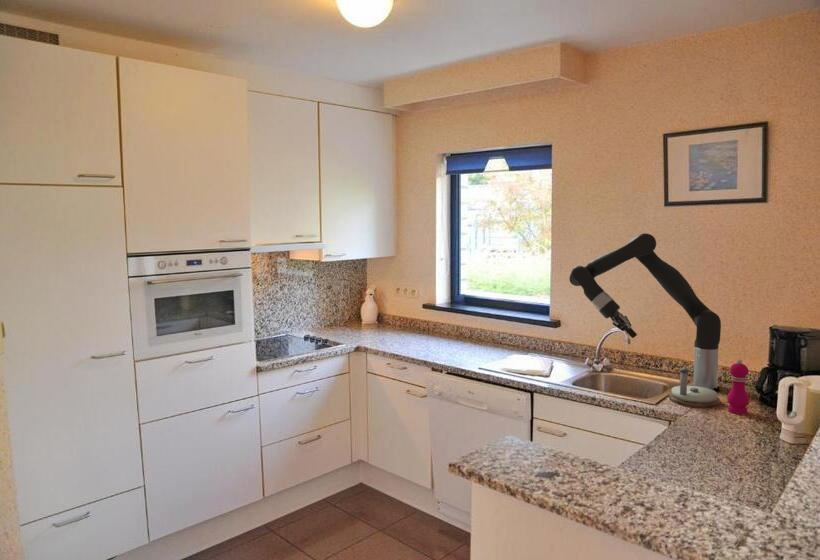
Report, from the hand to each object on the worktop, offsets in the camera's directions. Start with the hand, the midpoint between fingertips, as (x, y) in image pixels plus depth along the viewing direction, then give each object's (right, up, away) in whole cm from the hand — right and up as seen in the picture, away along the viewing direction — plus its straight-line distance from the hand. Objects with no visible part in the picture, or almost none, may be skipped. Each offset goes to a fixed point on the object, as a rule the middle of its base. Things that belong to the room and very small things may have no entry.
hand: (635, 336), depth 238 cm
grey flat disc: (+22, -25, -5) cm, 34 cm away
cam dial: (+22, -23, -5) cm, 32 cm away
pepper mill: (+31, -27, -19) cm, 45 cm away
